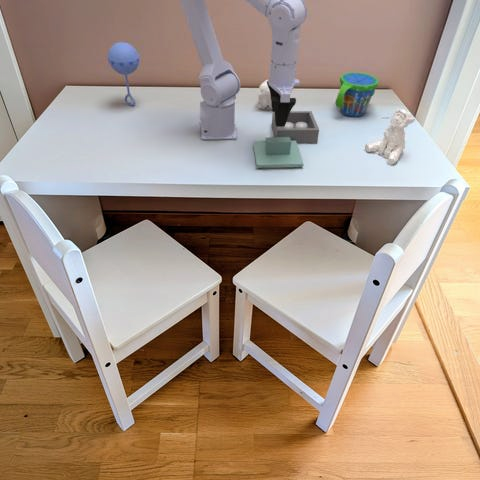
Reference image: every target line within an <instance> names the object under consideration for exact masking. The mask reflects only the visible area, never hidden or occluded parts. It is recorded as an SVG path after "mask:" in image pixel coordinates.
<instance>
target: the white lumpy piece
mask: <svg viewBox="0 0 480 480" xmlns="http://www.w3.org/2000/svg"><path fill="white" fill-rule="evenodd" d="M268 80H269V79H266V80H264V81H263V82H262V83H261V84H260V85H259V87H258V92H257V95H258V100H257V102H258V103H259V104H258V107H257V108H258V109H260V110H264V109H266V108H267V107H268V108H269V109H270V110H272V105H271V95H270V90H269V87H268V85H267V81H268Z"/></svg>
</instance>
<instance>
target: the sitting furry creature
mask: <svg viewBox="0 0 480 480" xmlns="http://www.w3.org/2000/svg"><path fill="white" fill-rule="evenodd" d="M415 121H416V118H412V114H411V112H409V111H407V110H406V109H403V108H399V107H397V109H396V111H394V112H393V114H392V115H391V119H390V124H391V125H389V126H388V127H387V129H385V131H384V132H383V136H384V137H383V139H382V140H377V141H372V142H369V143H367V144H365V145H364V150H365V152H366V153H374V154H377V155H379V156H381V157H383V158H384V159H385V160H387V164H388V165H390V166H392V165H395V164H396V163H397V161H398V160H399V159H400V157H401V155H402V153H403V152H404V149H405V148H406V145H405V144H406V141H405V135H406V131H405V129H404V128H408V126H409V125H411V124H413V123H414V122H415Z"/></svg>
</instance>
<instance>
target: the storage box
mask: <svg viewBox="0 0 480 480" xmlns="http://www.w3.org/2000/svg"><path fill="white" fill-rule="evenodd" d="M271 126H272V127H271V128H272V131H273V137H290V139H291V141H296V142H297V145H302V144H306V145H307V144H311V145H312V144H313V145H315V144H318V140H319V133H320V128H319V126H318V123H317V121H316V119H315V117H314V114H313V111H312V110H301V111H299V110H296V111H293V110H291V111H290V113H289V116H288V119H287V122H286V124H285V126H284V127H277V126H276V123H275V112H273V111H272V116H271Z"/></svg>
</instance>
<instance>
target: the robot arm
mask: <svg viewBox="0 0 480 480" xmlns="http://www.w3.org/2000/svg"><path fill="white" fill-rule="evenodd" d="M245 1H246V2H247V3H248V4H249V5H250V6H252V7H253V8H254V9H256V11H258V12H259V13H260V14H261V15H263V16H264V17H265V18H267V21H268V24H269V26H270V29H271V33H272V34H271V38H272V39H271V53H270V66H269V67H270V68H269V78H268V79H267V80H268V81H267V85H268V87H269V90H270V95H271V105H272V109H271V110H272V113H273V112H275V123H276V126H277V127H284V126H285V124H286V122H287V119H288V116H289V113H290V111H292V109H293V107H294V106H295V105H296V103H297V99H296V97H291V93H292V91H293V89H294V87H295V86H300V79H298V78H296V71H297V69H296V68H297V62H298V61H297V60H298V53H299V43H300V34H301V25H303V24H304V22H305V21H306V18H307V14H308V9H307V5H306V3H305V1H304V0H245ZM179 3H180V5H181V9H182V12H183V14H184V15H183V16H184V17H185V19H186V22H187V25H188V28H189V31H190V34H191V37H192V40H193V43H194V46H195V49H196V52H197V54H198V57H199V58H198V59H199V60H200V63H201V66H202V68H201V71H200V74H199V76H198V81H199V84H200V96H201V98H202V99H203V101H199V118H200V122H199V129H200V137H201V140H204V141H205V140H206V141H207V140H212V141H213V140H214V141H215V140H237V138H238V137H237V128H236V123H235V118H236V117H235V109H236V107H235V104H236V102H235V100H236V98H237V94H238V93H239V92H240V90H241V81H240V78H239V76H238V75H237V73H236V72H235V70H234V68H233V64H231V63H230V62H228V61H226V60H225V59H224V57H223V54H222V51H221V47H220V43H219V42H218V37H217V35H216V33H215V28H214V26H213V23H212V20H211V19H212V18H211V16H210V13H209V10H208V8H207V4H206V1H205V0H179Z"/></svg>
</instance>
